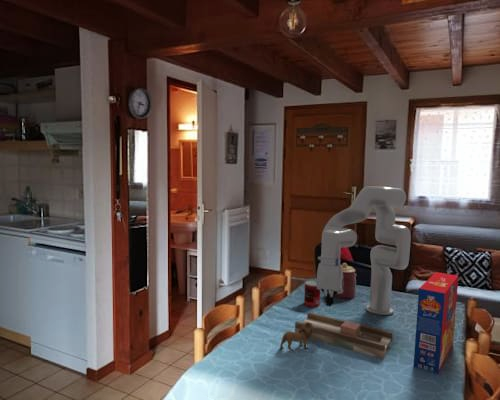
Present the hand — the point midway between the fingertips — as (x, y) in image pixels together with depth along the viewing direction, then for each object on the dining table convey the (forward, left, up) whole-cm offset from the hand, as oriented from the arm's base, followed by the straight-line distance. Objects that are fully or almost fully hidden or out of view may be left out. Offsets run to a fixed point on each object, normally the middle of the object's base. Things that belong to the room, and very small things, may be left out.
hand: (329, 305), depth 158 cm
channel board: (+1, +6, -13) cm, 14 cm away
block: (+1, +10, -10) cm, 14 cm away
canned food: (-29, -19, -13) cm, 37 cm away
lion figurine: (+18, -6, -13) cm, 23 cm away
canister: (-53, -11, -13) cm, 56 cm away
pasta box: (-6, +39, -13) cm, 41 cm away
